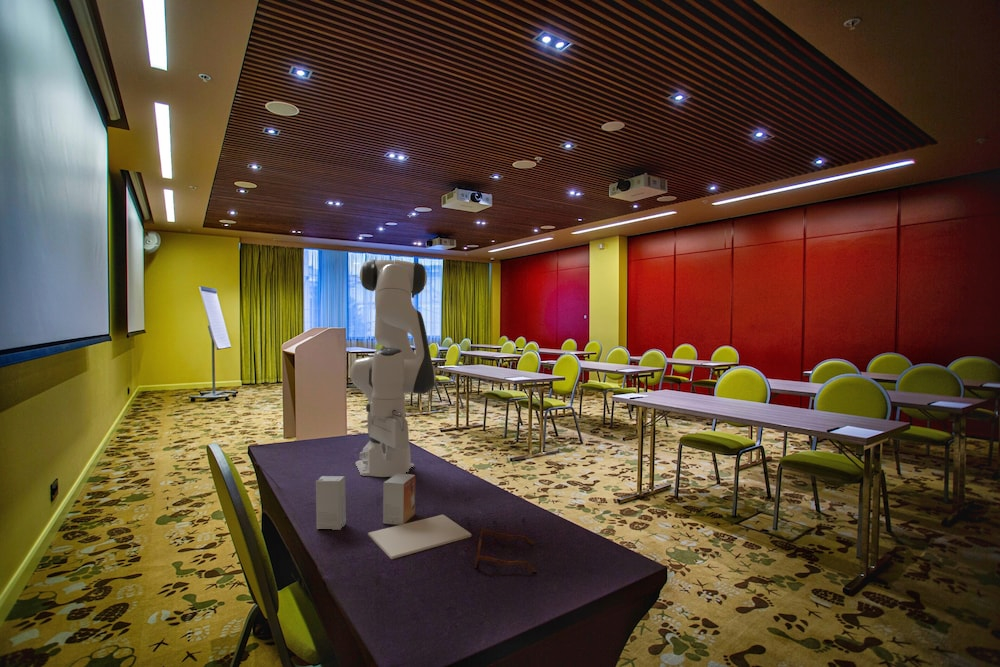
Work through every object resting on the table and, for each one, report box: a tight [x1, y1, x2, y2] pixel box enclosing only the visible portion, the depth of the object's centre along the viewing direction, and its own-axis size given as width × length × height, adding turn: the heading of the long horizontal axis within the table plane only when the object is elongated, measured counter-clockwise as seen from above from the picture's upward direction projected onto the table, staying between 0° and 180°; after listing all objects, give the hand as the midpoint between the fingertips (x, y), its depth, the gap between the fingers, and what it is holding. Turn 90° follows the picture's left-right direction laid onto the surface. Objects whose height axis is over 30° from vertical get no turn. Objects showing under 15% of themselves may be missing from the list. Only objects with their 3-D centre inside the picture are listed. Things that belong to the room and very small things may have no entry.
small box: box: [382, 473, 416, 526], centre depth 122 cm, size 8×6×10 cm
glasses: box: [474, 525, 537, 572], centre depth 103 cm, size 13×13×5 cm
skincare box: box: [315, 475, 347, 531], centre depth 116 cm, size 6×4×12 cm
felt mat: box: [367, 514, 472, 560], centre depth 112 cm, size 14×20×1 cm
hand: (387, 459), depth 128 cm, fingers closed
